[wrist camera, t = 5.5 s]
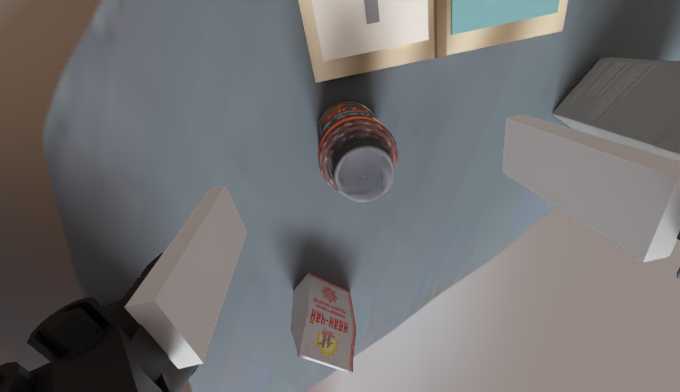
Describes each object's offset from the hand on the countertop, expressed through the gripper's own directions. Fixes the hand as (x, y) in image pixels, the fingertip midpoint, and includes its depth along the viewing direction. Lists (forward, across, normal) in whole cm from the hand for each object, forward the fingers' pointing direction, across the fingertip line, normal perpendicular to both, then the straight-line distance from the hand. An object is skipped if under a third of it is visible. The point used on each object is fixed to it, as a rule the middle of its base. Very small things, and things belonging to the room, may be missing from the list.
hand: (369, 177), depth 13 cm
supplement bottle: (+16, 0, -2) cm, 16 cm away
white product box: (+16, -7, -23) cm, 29 cm away
